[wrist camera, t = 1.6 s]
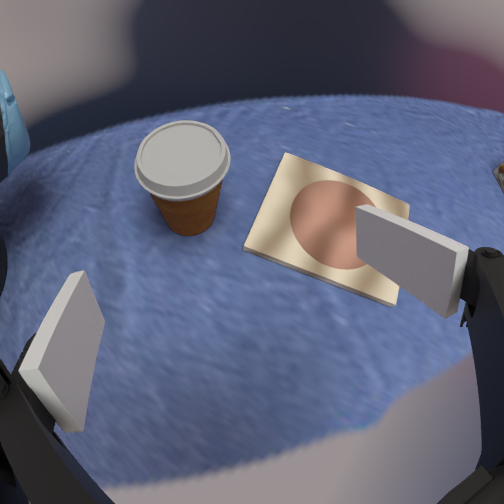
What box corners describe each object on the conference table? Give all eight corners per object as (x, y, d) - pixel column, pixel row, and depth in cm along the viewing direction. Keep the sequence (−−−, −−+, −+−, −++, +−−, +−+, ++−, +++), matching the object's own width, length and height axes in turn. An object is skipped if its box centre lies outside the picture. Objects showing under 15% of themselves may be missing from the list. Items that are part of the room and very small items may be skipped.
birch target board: (243, 249, 37) (244, 245, 36) (283, 157, 43) (285, 151, 42) (391, 307, 36) (396, 304, 34) (405, 208, 42) (410, 204, 41)
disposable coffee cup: (138, 217, 37) (113, 156, 26) (190, 172, 41) (183, 106, 30) (191, 263, 36) (178, 210, 25) (243, 211, 39) (251, 147, 28)
